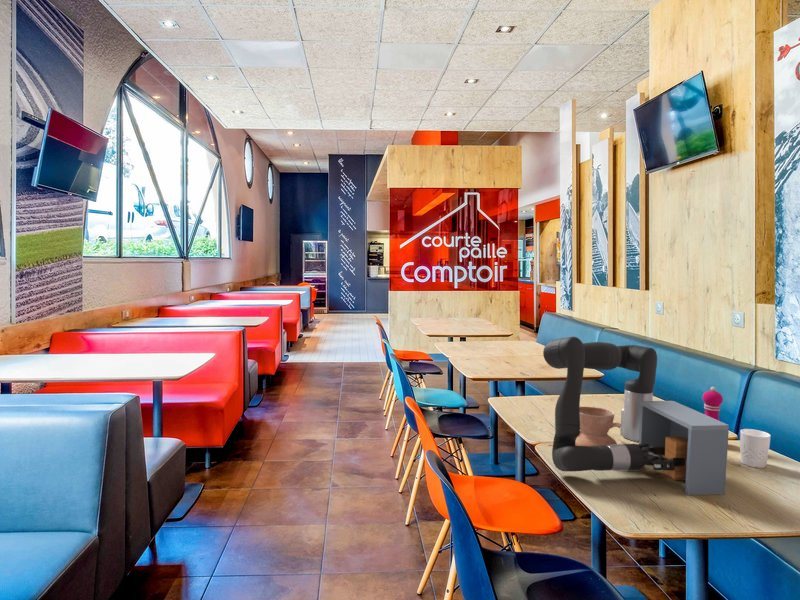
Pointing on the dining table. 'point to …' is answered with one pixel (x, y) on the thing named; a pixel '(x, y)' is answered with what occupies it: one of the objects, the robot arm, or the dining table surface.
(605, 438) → the ceramic jug
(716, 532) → the dining table surface
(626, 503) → the dining table surface
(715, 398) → the pepper mill
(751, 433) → the white cup
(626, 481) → the dining table surface
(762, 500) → the dining table surface
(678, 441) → the orange block
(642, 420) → the grey cubby
